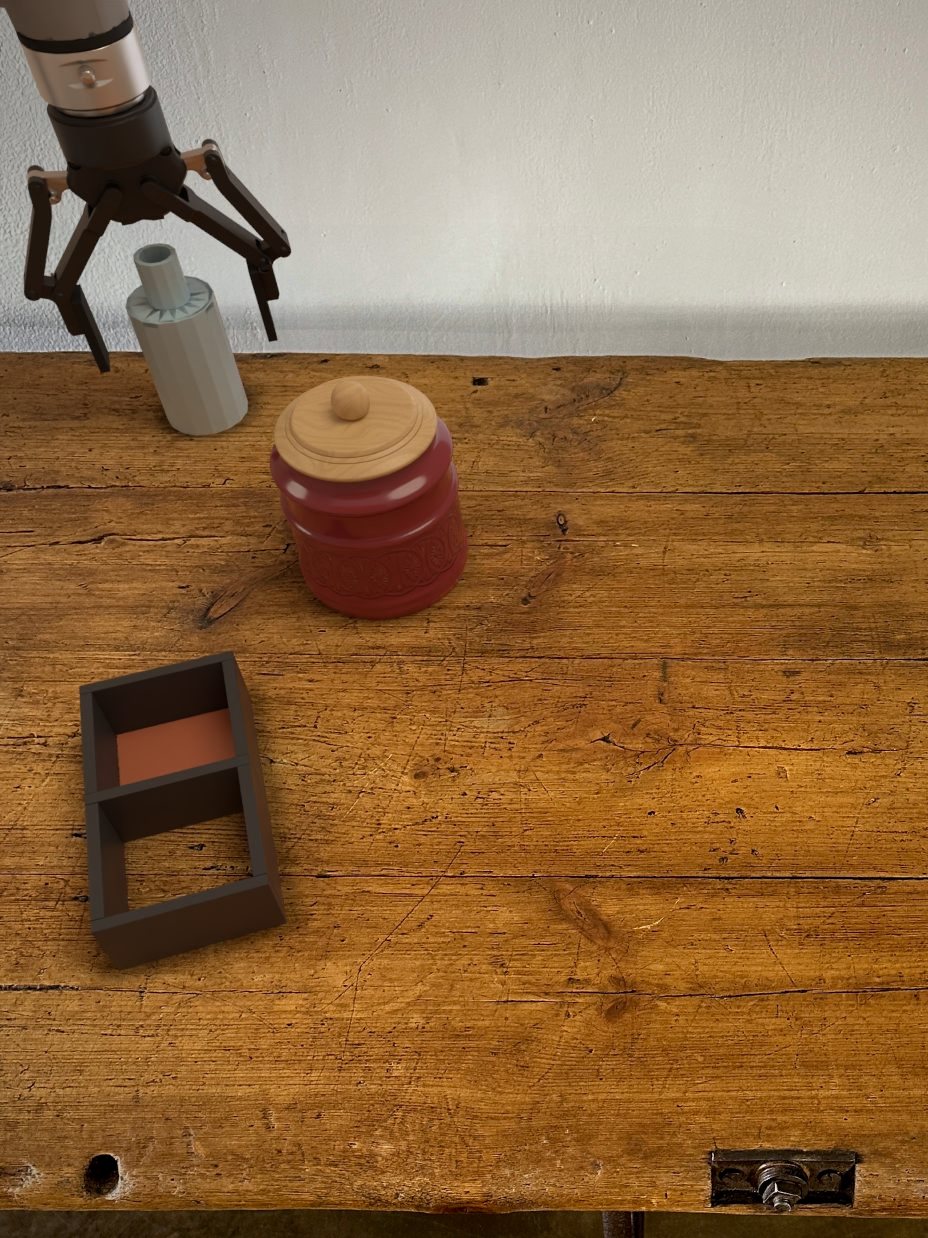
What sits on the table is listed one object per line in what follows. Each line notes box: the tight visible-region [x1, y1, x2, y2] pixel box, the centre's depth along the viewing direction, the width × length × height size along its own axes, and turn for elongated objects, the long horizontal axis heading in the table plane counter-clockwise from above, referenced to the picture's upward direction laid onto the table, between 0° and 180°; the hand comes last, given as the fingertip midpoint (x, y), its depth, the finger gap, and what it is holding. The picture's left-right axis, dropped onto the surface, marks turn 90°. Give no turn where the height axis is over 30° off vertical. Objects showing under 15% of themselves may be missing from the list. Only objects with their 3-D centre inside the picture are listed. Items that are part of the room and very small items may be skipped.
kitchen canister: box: [269, 375, 470, 621], centre depth 89 cm, size 13×13×18 cm
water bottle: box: [125, 242, 249, 437], centre depth 101 cm, size 7×7×16 cm
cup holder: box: [78, 650, 288, 972], centre depth 78 cm, size 19×10×6 cm, turn 19°
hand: (189, 347), depth 102 cm, fingers open, 13 cm apart
